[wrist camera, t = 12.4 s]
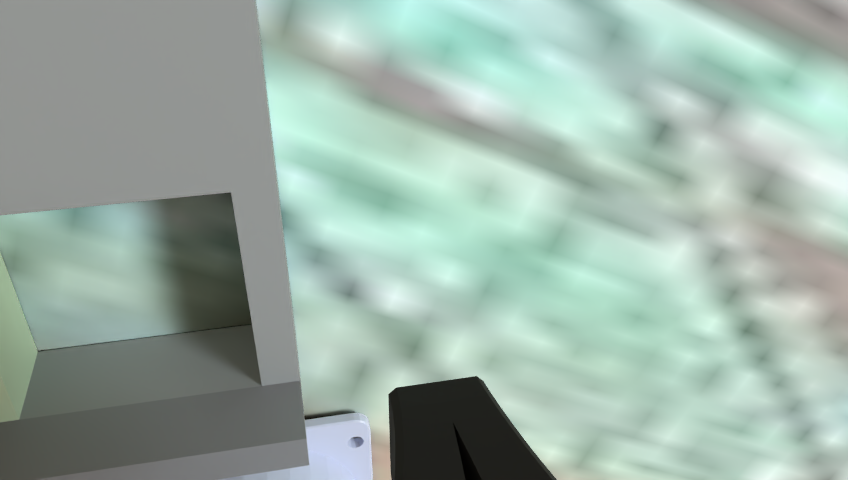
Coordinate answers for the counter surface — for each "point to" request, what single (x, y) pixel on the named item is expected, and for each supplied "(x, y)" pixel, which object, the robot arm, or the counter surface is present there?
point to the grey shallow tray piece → (141, 181)
